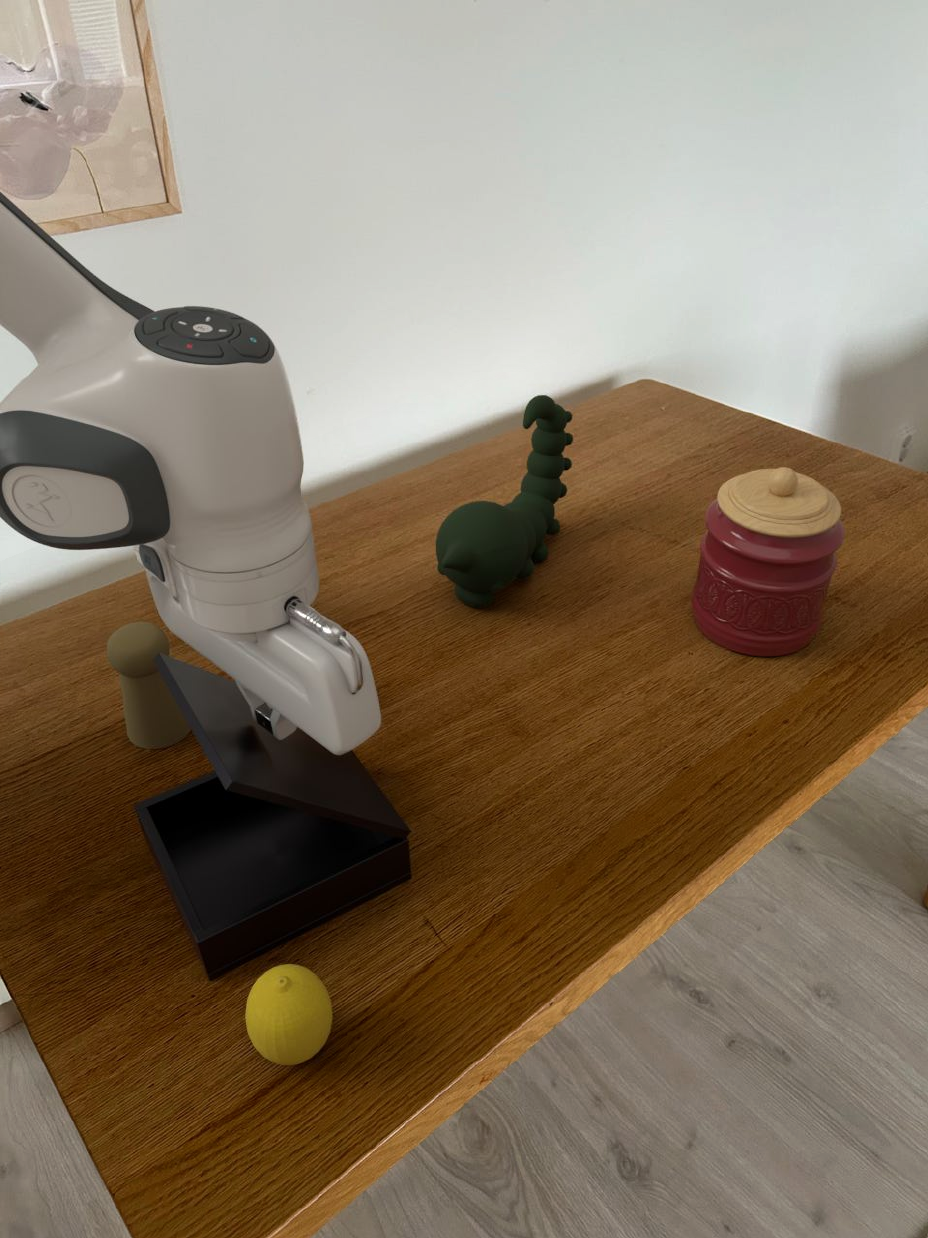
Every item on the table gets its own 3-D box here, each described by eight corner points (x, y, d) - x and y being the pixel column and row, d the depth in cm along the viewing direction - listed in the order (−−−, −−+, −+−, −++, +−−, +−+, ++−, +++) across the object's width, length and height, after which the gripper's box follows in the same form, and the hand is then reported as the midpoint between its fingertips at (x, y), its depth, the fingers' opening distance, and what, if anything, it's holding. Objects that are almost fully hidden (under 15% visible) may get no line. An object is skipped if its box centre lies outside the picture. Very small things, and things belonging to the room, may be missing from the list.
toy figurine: (513, 523, 119) (402, 621, 101) (523, 372, 108) (401, 451, 90) (584, 544, 115) (482, 649, 97) (601, 390, 105) (491, 476, 87)
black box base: (209, 982, 70) (197, 943, 67) (146, 843, 80) (133, 804, 77) (412, 878, 77) (408, 839, 74) (331, 762, 86) (325, 723, 83)
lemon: (275, 1103, 63) (256, 1039, 58) (243, 1034, 67) (223, 968, 62) (352, 1058, 65) (340, 993, 60) (316, 994, 69) (303, 927, 64)
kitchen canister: (719, 668, 95) (750, 515, 84) (670, 590, 105) (692, 444, 94) (842, 649, 97) (887, 496, 86) (783, 574, 107) (816, 429, 96)
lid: (225, 790, 61) (232, 780, 61) (151, 660, 70) (158, 651, 70) (405, 839, 73) (411, 831, 73) (322, 723, 83) (327, 716, 83)
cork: (132, 757, 87) (102, 664, 80) (122, 714, 92) (92, 622, 85) (200, 736, 89) (176, 644, 82) (186, 695, 94) (162, 604, 87)
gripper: (397, 615, 58) (408, 775, 67) (196, 494, 69) (227, 644, 78) (315, 668, 54) (337, 829, 63) (116, 531, 65) (159, 684, 74)
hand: (275, 726), depth 70 cm, fingers closed
